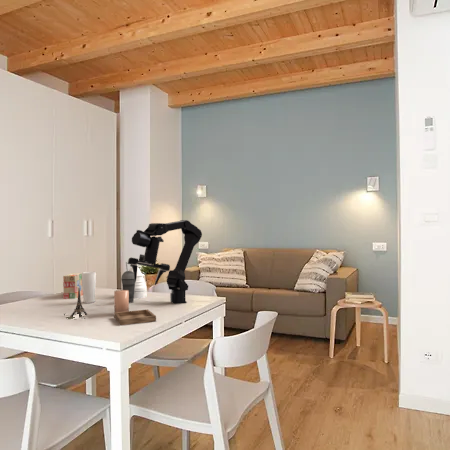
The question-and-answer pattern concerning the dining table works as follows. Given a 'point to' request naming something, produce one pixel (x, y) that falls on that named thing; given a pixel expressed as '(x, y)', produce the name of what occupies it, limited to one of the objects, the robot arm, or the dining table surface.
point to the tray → (134, 317)
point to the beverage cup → (128, 283)
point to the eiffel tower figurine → (78, 307)
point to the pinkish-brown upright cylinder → (121, 301)
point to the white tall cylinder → (88, 286)
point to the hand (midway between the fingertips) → (145, 283)
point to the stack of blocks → (72, 285)
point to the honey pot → (139, 285)
